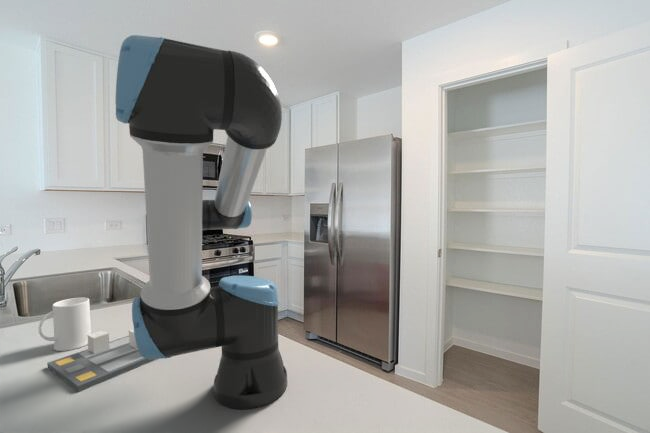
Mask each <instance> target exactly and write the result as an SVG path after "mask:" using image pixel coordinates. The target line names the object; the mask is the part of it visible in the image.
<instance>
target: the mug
mask: <svg viewBox="0 0 650 433" xmlns="http://www.w3.org/2000/svg"><path fill="white" fill-rule="evenodd" d="M90 305H91V304H90V298H88V297H73V298H67V299H62V300H59V301H56V302H54V303H53V304H52V310H51V311H49V312H48V313H47V314H45V315H44V316H43V317H42V319H41V320H40V322H39V325H38V333H39V335H40V337H41V338H42V339H44V340H45V341H48V342H54V344H53V350H54V351H57V352H67V351H73V350H78V349H80V348H83V347H86V346H88V336H87V335H89V334H92V327H91V326H92V325H91V324H92V323H91V310H90V309H91V308H90V307H91V306H90ZM51 316H52V318H53V322H52V323H53V336H51V337H49V336H47V335H44V333H43V332H42V331H43V330H42V327H43V325H44V323H45V321H46V320H47V319H48V318H50V317H51Z"/></svg>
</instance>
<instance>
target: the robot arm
mask: <svg viewBox="0 0 650 433" xmlns="http://www.w3.org/2000/svg"><path fill="white" fill-rule="evenodd" d="M118 56H119V57H118V63H117V69H116V70H117V71H116V72H117V73H116V81H115V82H116V84H115V117H116V118H115V119H116V120H117V121H118V122H121V123H123V124H128V127H129V137H130V138H132V140H133V141H134V142H135V143H137V144H138V145H139V146H140V147H141V149H142V161H143V180H144V182H143V183H144V198H145V215H146V216H145V217H146V218H145V219H146V236H147V252H148V253H147V256H148V258H147V259H148V273H149V280H148V281H147V282H146V283H145V284H144V285H143V286H142V287H141V290H140V295H138V296H136V297H135V298H133V300H132V302H131V303H132V305H131V316H132V317H131V318H132V324H133V329H134V335H135V340H136V344H137V347H138V350H139V352H140V354H141V356H142V357H143V358H145V359H148V360H153V359H156V360H160V359H161V360H162V359H170V358H173V357H176V356H180V355H185V354H191V353H195V352H199V351H205V350H211V349H215V348H221V355H220V356H221V357H220V359H219V365H218V368H217V371H216V372H217V373H216V374H215V377H214V379H213V396H214V399H215V400H216V401H217V403H219V404H220V405H222V406H224V407H227V408H231V409H237V410H238V409H239V410H247V409H254V408H259V407H262V406H265V405H268V404H270V403H272V402H274V401H276V400H278V399H279V398H280V397H281V396H282V395H283V394H284V393H285V391H286V390H287V387H288V373H287V372H288V371H287V369H286V367H285V365H284V361H283V358H282V354H281V351H280V349H279V319H278V318H279V309H278V308H279V307H278V306H279V300H278V299H279V298H278V291H277V285H276V284H275V283H274V282H273V281H272V280H269V279H267V278H264V277H260V276H253V275H230V276H225V277H222V278H221V279H220V280H219V282H218V286H214V287H213V286H212V287H211V284H210V281H209V280H208V279H207V278H206V277H205V276H203V231H211V230H238V229H245V228H248V227H250V225H251V224H252V218H253V209H252V204H251V202H250V201H249V199H250V196H251V193H252V191H253V188H254V185H255V182H256V180H257V177H258V175H259V171H260V169H261V166H262V164H263V161H264V158H265V155H266V152H267V150H268V149H270V148H271V147H273V145H275V143H276V141H277V139H278V137H279V134H280V131H281V126H282V117H283V116H282V114H283V112H282V105H281V104H282V103H281V100H280V99H281V98H280V95H279V93H278V91H277V88H276V87H275V84H274V82H273V81H272V79H271V77H270V75H269V74H268V73H267V71H266V70H265V69H264V68H263V67H262V66H261V65H260V64H259V63H258V62H256V61H255V60H253V58H250V57H249V56H247V55H245V54H244V53H241V52H237V51H233V50H224V49H219V48H214V47H208V46H203V45H199V44H195V43H190V42H183V41H180V40H175V39H170V38H165V37H161V36H160V37H156V36H147V35H137V34H135V35H134V34H133V35H129V36H127V37H126V38H125V39H124V40H122V43H121V46H120V50H119V55H118ZM215 130H217V131H218V130H220V131H225V135H226V136H227V138H226V143H225V146H224V147H225V148H224V153H223V158H222V162H221V168H220V172H219V177H218V182H217V187H216V191H215V197H214V199H203V190H204V189H203V187H204V186H203V185H204V184H203V183H204V182H203V181H204V179H203V178H204V177H203V176H204V173H203V172H204V167H203V166H204V164H203V163H204V162H203V161H204V159H203V158H204V151H205V150H206V149H207V148H208V147H210V145H212V144H213V143H214V132H215Z"/></svg>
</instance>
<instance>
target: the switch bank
mask: <svg viewBox="0 0 650 433" xmlns="http://www.w3.org/2000/svg"><path fill="white" fill-rule="evenodd" d="M109 347H110V348H109V349H106V350H103V351H101V352H98V353H95V354H94V353H92V352H90V351H89V350H88V348H87V349H84V350H80V351H79V352H76V353H73V354H70V355H67V356H64V357H61V358H57V359H54V360H51V361H48V362H47V366H46V367H47V369H49V370H50V371H51V372H53V373H54V374H55V375H56V376H58V378H59V379H61V380H63V381H64V382H65V383H66V384H67V385H69V386H70V387H72V388H73V389H74V390H75V391H77V392H82V391H84V390H86V389H87V390H88V389H89V388H91V387H94V386H96V385H98V384H100V383H102V382H105V381H107V380H110V379H112V378H114V377H118V376H120V375H122V374H124V373H127V372H129V371H132V370H134V369H136V368H137V369H138V368H139V367H142V366H144V365H146V364H148V363H151V362H154V361H156V360H157V359H153V360H148V359H145V358H143V357H142V356H141V354H140V352H139V350H138V348H134V347H132V346H130V345H129V335H126V336H123V337H121V338H118V339H114V340H111V341H109Z"/></svg>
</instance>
